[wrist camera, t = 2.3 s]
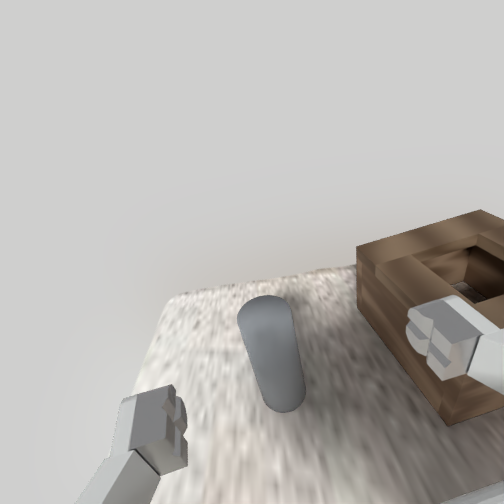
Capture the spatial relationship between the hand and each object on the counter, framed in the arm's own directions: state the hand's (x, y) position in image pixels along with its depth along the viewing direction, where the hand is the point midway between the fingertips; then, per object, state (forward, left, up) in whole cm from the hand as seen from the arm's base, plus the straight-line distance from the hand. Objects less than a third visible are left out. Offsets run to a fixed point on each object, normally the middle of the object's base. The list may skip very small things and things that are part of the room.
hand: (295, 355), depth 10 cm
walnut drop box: (-21, -12, -22) cm, 33 cm away
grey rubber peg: (0, -12, -22) cm, 25 cm away
